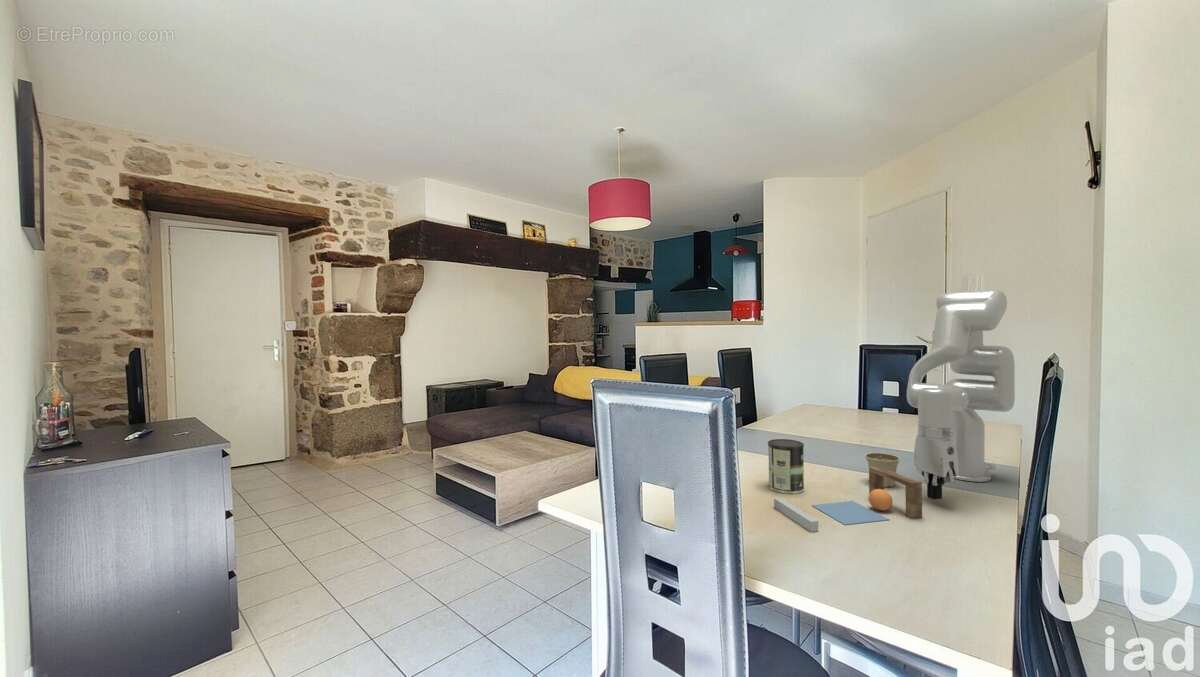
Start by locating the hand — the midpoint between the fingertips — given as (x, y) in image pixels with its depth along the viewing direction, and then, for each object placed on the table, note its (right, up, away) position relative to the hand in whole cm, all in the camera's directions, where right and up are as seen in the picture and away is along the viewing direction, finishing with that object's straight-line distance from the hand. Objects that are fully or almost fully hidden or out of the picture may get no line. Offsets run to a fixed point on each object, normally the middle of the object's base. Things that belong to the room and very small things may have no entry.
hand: (934, 498), depth 129 cm
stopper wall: (-42, -3, -8) cm, 43 cm away
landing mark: (-26, -2, -5) cm, 27 cm away
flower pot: (-5, -2, +16) cm, 17 cm away
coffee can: (-35, -2, +15) cm, 38 cm away
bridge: (-13, -2, -2) cm, 13 cm away
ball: (-17, +1, -4) cm, 18 cm away
